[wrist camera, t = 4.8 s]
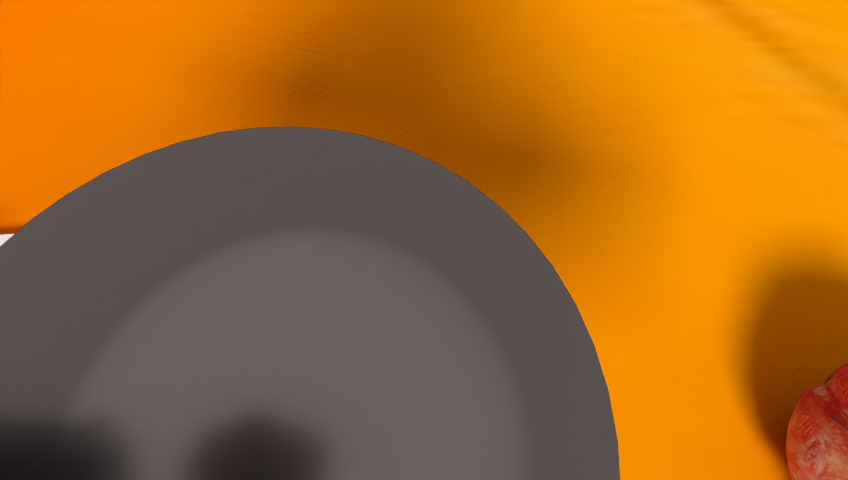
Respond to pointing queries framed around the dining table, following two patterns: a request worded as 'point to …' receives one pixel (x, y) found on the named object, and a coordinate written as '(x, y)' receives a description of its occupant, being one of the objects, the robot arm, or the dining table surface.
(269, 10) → the dining table surface
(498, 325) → the shaker
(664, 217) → the dining table surface
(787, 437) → the pomegranate
